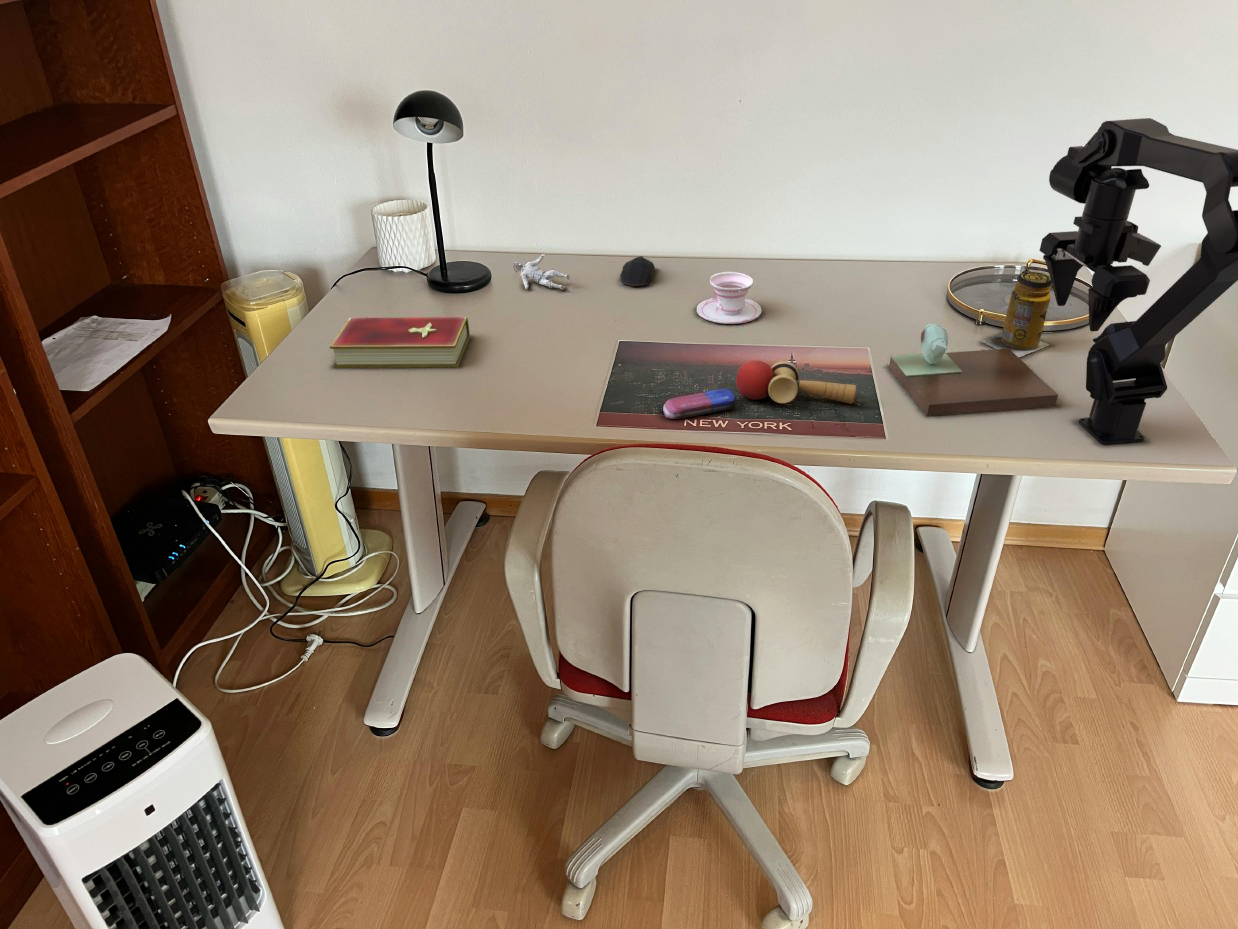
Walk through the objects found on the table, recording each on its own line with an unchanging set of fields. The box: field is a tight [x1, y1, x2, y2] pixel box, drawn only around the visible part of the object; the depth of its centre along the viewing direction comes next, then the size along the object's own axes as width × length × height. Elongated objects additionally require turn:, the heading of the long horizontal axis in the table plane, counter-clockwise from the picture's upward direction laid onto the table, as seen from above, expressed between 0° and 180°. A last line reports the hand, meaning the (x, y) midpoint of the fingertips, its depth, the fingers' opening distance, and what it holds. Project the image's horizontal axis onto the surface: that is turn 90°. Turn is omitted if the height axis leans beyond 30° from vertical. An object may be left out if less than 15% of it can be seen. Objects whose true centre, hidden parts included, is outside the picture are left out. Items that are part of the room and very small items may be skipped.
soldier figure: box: [512, 254, 571, 291], centre depth 181 cm, size 8×5×12 cm
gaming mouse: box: [619, 255, 656, 287], centre depth 184 cm, size 6×15×4 cm, turn 170°
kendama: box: [735, 359, 857, 405], centre depth 139 cm, size 8×6×18 cm
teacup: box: [696, 271, 763, 325], centre depth 167 cm, size 12×12×6 cm
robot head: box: [920, 322, 949, 364], centre depth 143 cm, size 8×4×7 cm, turn 170°
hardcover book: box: [329, 316, 471, 369], centre depth 157 cm, size 12×21×4 cm, turn 88°
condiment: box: [981, 271, 1052, 358], centre depth 151 cm, size 7×8×12 cm
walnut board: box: [888, 348, 1059, 417], centre depth 142 cm, size 16×20×2 cm
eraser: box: [662, 388, 737, 420], centre depth 138 cm, size 11×4×2 cm, turn 105°
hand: (1076, 317), depth 135 cm, fingers open, 9 cm apart
